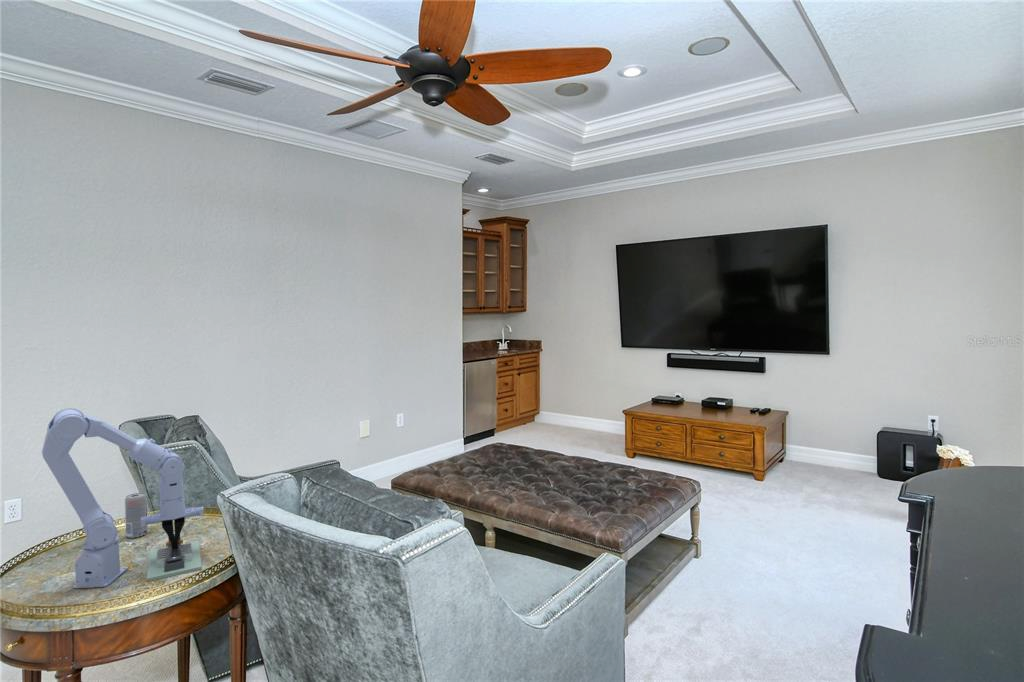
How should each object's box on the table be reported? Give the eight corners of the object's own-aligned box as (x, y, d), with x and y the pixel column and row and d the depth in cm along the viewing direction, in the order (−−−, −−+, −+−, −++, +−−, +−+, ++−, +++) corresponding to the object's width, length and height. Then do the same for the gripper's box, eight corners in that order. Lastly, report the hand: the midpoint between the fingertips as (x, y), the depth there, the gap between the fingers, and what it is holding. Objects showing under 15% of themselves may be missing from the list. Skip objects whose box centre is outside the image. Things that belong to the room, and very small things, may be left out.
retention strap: (183, 559, 144) (182, 555, 144) (165, 563, 142) (164, 559, 142) (182, 542, 155) (182, 538, 155) (166, 545, 153) (165, 541, 153)
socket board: (201, 569, 145) (200, 551, 145) (146, 581, 139) (145, 563, 138) (199, 543, 160) (198, 527, 160) (150, 553, 154) (149, 536, 154)
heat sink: (192, 560, 148) (191, 553, 148) (156, 568, 144) (156, 561, 144) (191, 549, 155) (191, 542, 155) (157, 556, 151) (157, 549, 151)
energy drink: (144, 529, 170) (144, 491, 169) (149, 534, 166) (148, 495, 166) (124, 534, 166) (123, 495, 166) (128, 539, 163) (127, 499, 162)
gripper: (202, 488, 158) (204, 534, 159) (140, 497, 150) (144, 546, 151) (202, 495, 152) (205, 543, 153) (139, 506, 144) (142, 556, 145)
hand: (174, 545), depth 152 cm, fingers closed, pressing on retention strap
